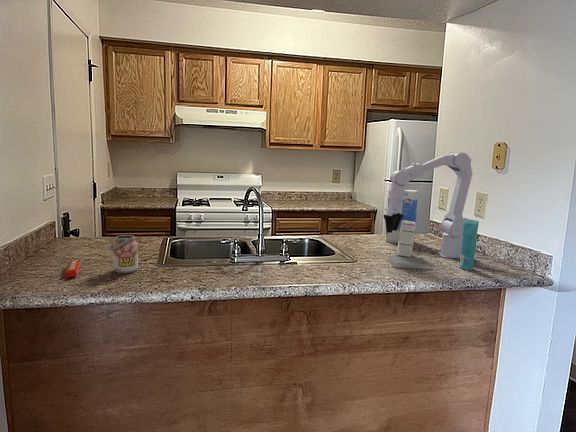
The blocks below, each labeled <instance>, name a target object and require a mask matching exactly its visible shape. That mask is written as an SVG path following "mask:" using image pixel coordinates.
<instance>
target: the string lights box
mask: <svg viewBox="0 0 576 432" xmlns="http://www.w3.org/2000/svg"><path fill="white" fill-rule="evenodd" d="M390 190H391V188H390V189H389V190H388V195H387V205H388V204H389V197H390ZM418 192H419V190H418V189H416V190H414V189H405V192H404V199H403V206H402V213H401V214H402V215H404V216H403V218H402V219H401V221H412V222H415V223H416V222H417V212H418V211H417V209H418ZM401 221H400V223H399V226H398V229H397V231H394V230H393V231H392V233H389V232H386V231H385V233H386V234H385V242H386V243H394V244H398V242H399V235H400V228H401ZM416 224H417V223H416ZM415 241H416V233H415V234H414V242H413V244H414V243H415Z"/></svg>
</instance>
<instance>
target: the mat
mask: <svg viewBox="0 0 576 432" xmlns="http://www.w3.org/2000/svg"><path fill="white" fill-rule="evenodd" d="M388 259H389V261H390V263H391V265H392V266H393V268H394V269H405V270H421V271H422V270H423V271H425V270H426V271H433V268H432V267H431V265H430V264H429V263H428V262H427V261H426V260H425V259H424V258H423V257H414V256H411V257H406V256H391V255H388Z"/></svg>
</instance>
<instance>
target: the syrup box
mask: <svg viewBox="0 0 576 432" xmlns="http://www.w3.org/2000/svg"><path fill="white" fill-rule="evenodd" d="M416 226H417V223H415V222H412V221H401V228H400V235H399V242H398V243H397V250H396V254H397V255H398V256H399V257H413V256H412V255H413V248H414V243H415V242H414V234H415V235H416V228H417V227H416ZM413 242H414V243H413Z"/></svg>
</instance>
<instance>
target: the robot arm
mask: <svg viewBox="0 0 576 432" xmlns="http://www.w3.org/2000/svg"><path fill="white" fill-rule="evenodd" d="M471 163H472V158H471V157H470V156H469V154H467V153H466V152H449V153H445V154H442V155H440V156H438V157H435V158H433V159H431V160H429V161H426V162H424V163H419V162H413V163H411V165H409V166H408V167H407V166H406V167H401V170H395V171H393V172H392V173H391V175H390V176H389V180H390V182H391V185H390V189H391V190H390V189H389V190H390V197H389V204H388V203H387V207H386V208H384V210H385V211H386V213H385V214H383V219H384V221H385V222H384V223H385V233H386V232H389V233H392V231H393V230H394V231H397V229H398V226H399V223H400V221H401V219H402V218H403V216H404V215H402V214H401V213H402V206H403V199H404V192H405V190H406V185H407V184H408V183H409V182H411V181H413V180H416V179H419V178H421V177H423V176H424V175H425V173H426V172H429V171H430V170H433V169H436V168H439V167H442V166H446V167H448V168H449V169H451V170H452V171H453V172H454V173H455V174H456V176H457V177H456V182H455V184H454V189H453V193H452V198H451V201H450V205H449V208H448V209H449V210H448V212H447V213H446V214H445V215H444V217H443V219H442V221H441V222H440V226H439V228H440V230H441V232H442V234H441V245H440V246H441V248H440V251H437V254H438V255H439V256H441V257H442V258H450V259H460V256H461V246H462V234H463V221H464V218H465V217H464V216H463V213H464V208H465V206H466V200H467V198H468V197H467V196H468V194H469V189H470V184H471V182H472V177H473V170H472V164H471Z"/></svg>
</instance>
